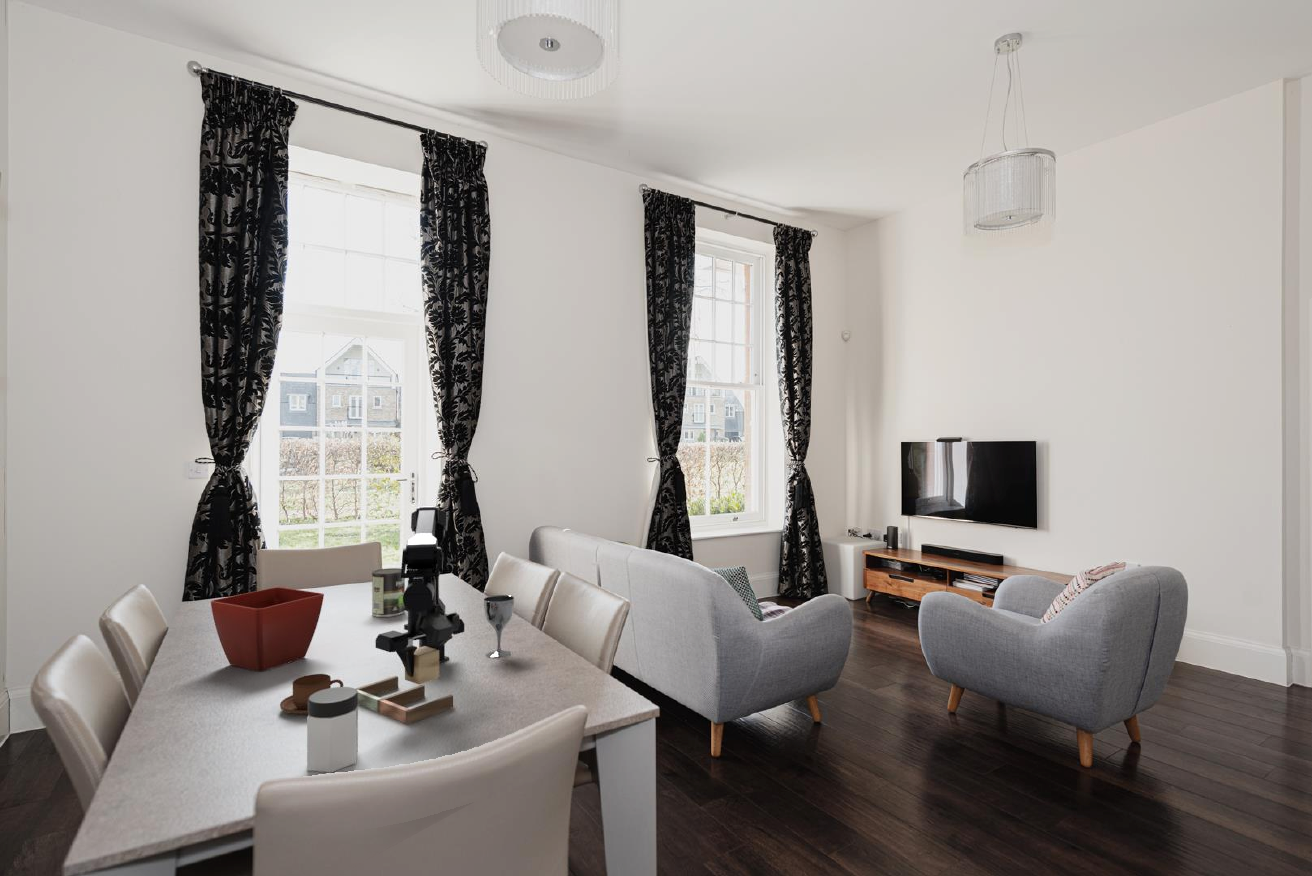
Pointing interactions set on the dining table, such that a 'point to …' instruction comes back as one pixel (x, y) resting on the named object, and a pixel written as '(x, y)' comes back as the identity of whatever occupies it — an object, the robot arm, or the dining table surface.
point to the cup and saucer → (306, 692)
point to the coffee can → (387, 592)
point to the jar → (332, 729)
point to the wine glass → (498, 619)
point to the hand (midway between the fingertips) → (421, 673)
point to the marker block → (424, 665)
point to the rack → (400, 701)
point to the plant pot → (267, 626)
